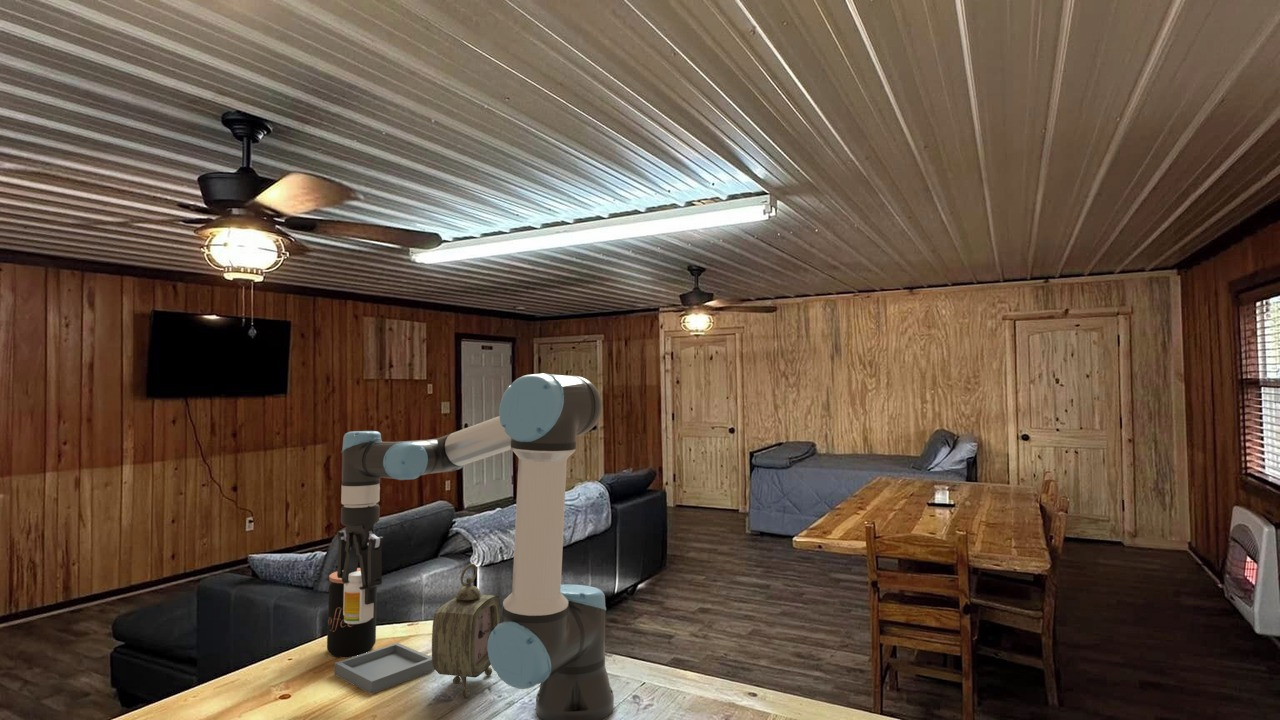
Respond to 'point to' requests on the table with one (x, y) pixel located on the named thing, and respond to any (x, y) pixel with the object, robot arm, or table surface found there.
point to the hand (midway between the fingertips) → (358, 616)
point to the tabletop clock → (464, 633)
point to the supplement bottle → (353, 599)
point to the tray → (384, 667)
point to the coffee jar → (347, 625)
